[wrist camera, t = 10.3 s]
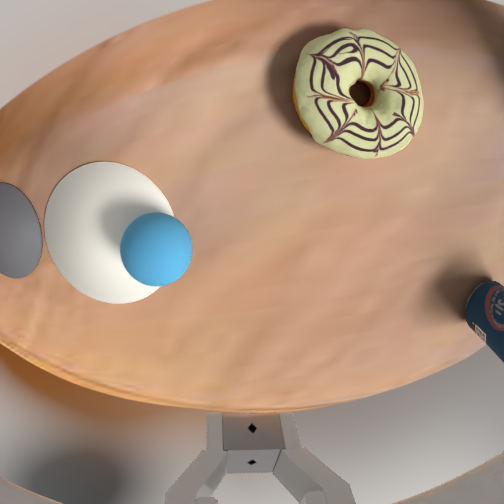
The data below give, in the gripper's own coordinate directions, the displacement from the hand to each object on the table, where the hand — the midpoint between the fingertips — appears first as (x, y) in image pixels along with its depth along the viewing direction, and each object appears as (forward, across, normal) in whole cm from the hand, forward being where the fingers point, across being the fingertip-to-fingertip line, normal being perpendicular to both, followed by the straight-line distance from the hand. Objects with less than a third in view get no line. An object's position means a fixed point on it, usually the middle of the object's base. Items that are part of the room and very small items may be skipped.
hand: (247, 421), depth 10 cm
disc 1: (+17, +23, 0) cm, 29 cm away
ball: (+14, +6, 0) cm, 16 cm away
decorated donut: (+18, -8, -14) cm, 24 cm away
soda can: (+17, -32, +5) cm, 37 cm away
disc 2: (+17, +11, 0) cm, 20 cm away
